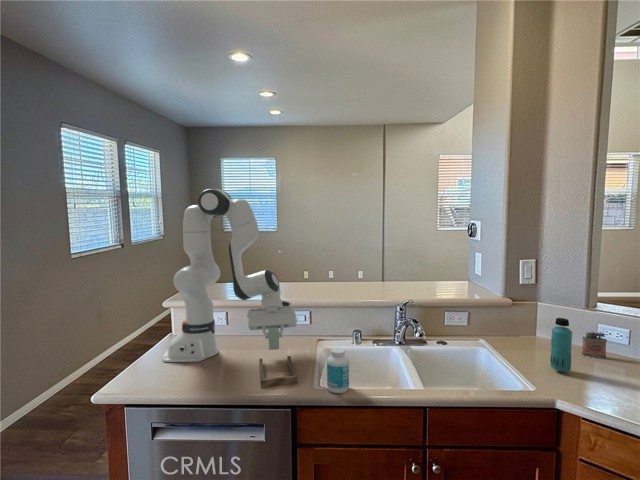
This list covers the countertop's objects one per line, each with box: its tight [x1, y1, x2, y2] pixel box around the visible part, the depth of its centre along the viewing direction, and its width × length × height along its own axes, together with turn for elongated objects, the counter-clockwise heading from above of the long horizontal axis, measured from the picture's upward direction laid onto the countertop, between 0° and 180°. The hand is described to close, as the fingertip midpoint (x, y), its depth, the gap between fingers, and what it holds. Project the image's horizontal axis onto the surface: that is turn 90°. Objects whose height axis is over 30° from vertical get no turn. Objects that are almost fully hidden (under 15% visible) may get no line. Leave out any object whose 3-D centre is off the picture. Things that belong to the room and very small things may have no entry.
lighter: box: [581, 331, 608, 359], centre depth 145 cm, size 8×3×10 cm, turn 68°
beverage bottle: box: [549, 317, 573, 372], centre depth 131 cm, size 6×7×20 cm
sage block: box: [267, 327, 280, 351], centre depth 147 cm, size 4×4×8 cm
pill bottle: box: [326, 347, 350, 394], centre depth 121 cm, size 8×7×14 cm
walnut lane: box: [258, 355, 298, 388], centre depth 134 cm, size 12×19×2 cm, turn 11°
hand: (273, 337), depth 146 cm, fingers closed on sage block, 4 cm apart
